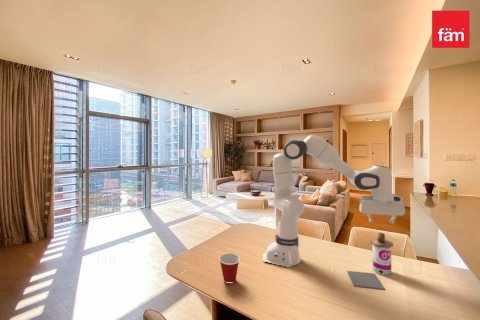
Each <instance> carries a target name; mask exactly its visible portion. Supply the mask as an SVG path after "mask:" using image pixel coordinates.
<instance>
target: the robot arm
mask: <svg viewBox="0 0 480 320" xmlns="http://www.w3.org/2000/svg"><path fill="white" fill-rule="evenodd" d="M282 149H283V151H281V152H279V153H277V154H274V155H273V157H272V172H273V173H272V174H273V180H274V196H273V198H272V204H273V205H274V206H275V208H276V209H277V210H279V211H281V218H280V220H279V221H278V223H277V224H278V225H277V226H278V233H275V235H274V237H275V239H274V240H275V241H273V242H272V243H270V244H269V245H268V246H267V248H266V251H265V252H264V253H263V255H262V262H263V261H264V262H268V263H273V264H278V265H282V266H281V267H284V266H286V267H285V268H292V266H296V265H299V264H300V263H301V261H302V259H301V256H300V252H299V251H300V250H299V245H300V239H299V235H298V232H299V231H298V228H299V227H298V224H299V219H300V216H301V215H302V214H303V213H304V211H305V204H304V203H303V201H302V200H301V199H300V198H298V197H297V196H293V194H292V193H293V192H292V190H293V186H294V184H295V180H294V174H293V168H292V161H293V160H297V159H300V158H301V157H303V156H305V155H306V154H307V155H310V156H311V157H313V159H315V160H316V161H318V162H320V163H321V164H323V165H325V166H327V167H330V168H333V169H335V171H337V172H339V173H340V174H341V175H342V176H344V177H345V178H346V180H347V182H348V183H349V185H350V186H352V187H353V188H357V190H358V189H359V190H361V191H367V190H371V195H362V196H360V197H359V199H358V200H359V201H358V202H359V206H358V209H359V212H360V213H361V214H365V215H366V216H367V217H368V221H369V222H368V223H374V218H371V216H372V215H381V216H382V215H383V216H384V215H386V216H391V218H390V219H389V220H388V221H389V222H388V223H389V224H392V225H394V223H395V220H396V218H397V216H401V217H402V216H405V214H406V207H405V203H404V202H403V201H404V198H403V197H402V196H399V195H396V194H395V193H393V192H392V187H391V186H392V183H393V182H392V180H393V179H392V178H393V177H392V170H391V168H389V167H388V166H384V165H379V164H375V165H372V166H371V167H369V168H367V169H365V170H361V169H357V168H353V167H352V166H351V165H349V164H348V163H347V162H345V161H344V160H343V159H342V158H341V157H340V155H339V154H340V153H339V151H338V150H337V149H336V147H334V145H332V144H330V143H329V142H327V140H325V139H323V138H321V137H319V136H317V135H315V134H310V135H308V136H306V138H304V140H299V139H297V138H296V139H294V138H293V139H290V140H288V141H286V143H285V144H284V146H283V148H282ZM264 262H263V263H264ZM268 263H267V264H268ZM273 264H272V265H273ZM278 265H277V266H278Z"/></svg>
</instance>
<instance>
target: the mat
mask: <svg viewBox="0 0 480 320" xmlns="http://www.w3.org/2000/svg"><path fill="white" fill-rule="evenodd" d="M346 272H347V274H348V276H349V279H350V282H351V283H352V286H353V287H355V288H357V287H358V288H366V289H374V290H382V291H385V290H386V287H384V285H383V283H382V282H381V280H380V279H379V278H378V276H377V275H376V272H375V273H374V272H363V271H353V270H352V271H351V270H347V271H346Z"/></svg>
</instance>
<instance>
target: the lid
mask: <svg viewBox="0 0 480 320" xmlns="http://www.w3.org/2000/svg"><path fill="white" fill-rule="evenodd" d="M377 233H378V234H377V238H374V237H373V238H371V239H370V240H369V242H370V244H371V245H375V246H379V247H384V248H390V247H391V248H393V247H394V243H393V242H392V241H390V240H388V239H386V238H385V237H386V236H385V235H386V234H385V233H383V232H377Z"/></svg>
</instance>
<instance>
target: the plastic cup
mask: <svg viewBox="0 0 480 320" xmlns="http://www.w3.org/2000/svg"><path fill="white" fill-rule="evenodd" d="M218 259H219V264H220V267H221V268H220V269H221V273H222V277H223V282H224V281H226V282H234V281H235V282H236V281H237V273H238V268H239V267H238V266H239V263H240V261H241V257H240V256H239V255H238V254H236V253H232V252H231V253H230V252H226V253H222V254H221V255H219V257H218ZM235 282H234V283H235Z"/></svg>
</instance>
